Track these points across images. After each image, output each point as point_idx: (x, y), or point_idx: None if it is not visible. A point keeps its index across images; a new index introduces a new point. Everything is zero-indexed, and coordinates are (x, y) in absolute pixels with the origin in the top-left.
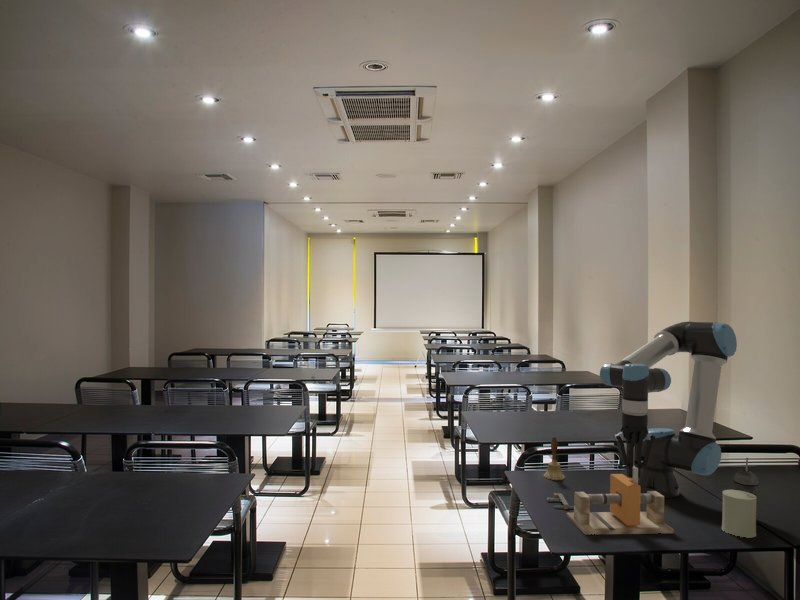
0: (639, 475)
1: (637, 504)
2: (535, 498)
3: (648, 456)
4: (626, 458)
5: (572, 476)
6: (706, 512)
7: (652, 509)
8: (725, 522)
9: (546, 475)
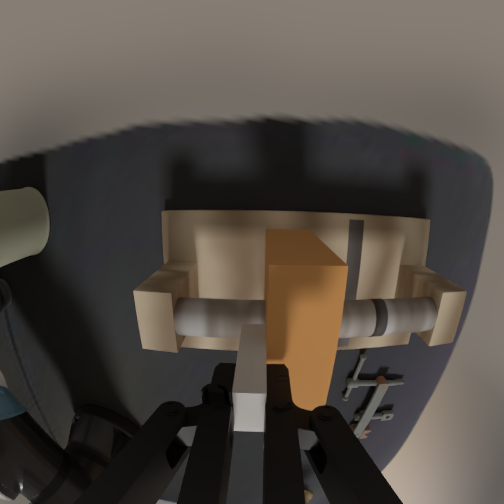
0: (220, 370)
1: (280, 242)
2: (402, 420)
3: (128, 445)
4: (332, 447)
5: (254, 498)
6: (49, 329)
7: (188, 289)
8: (34, 222)
9: (310, 497)
